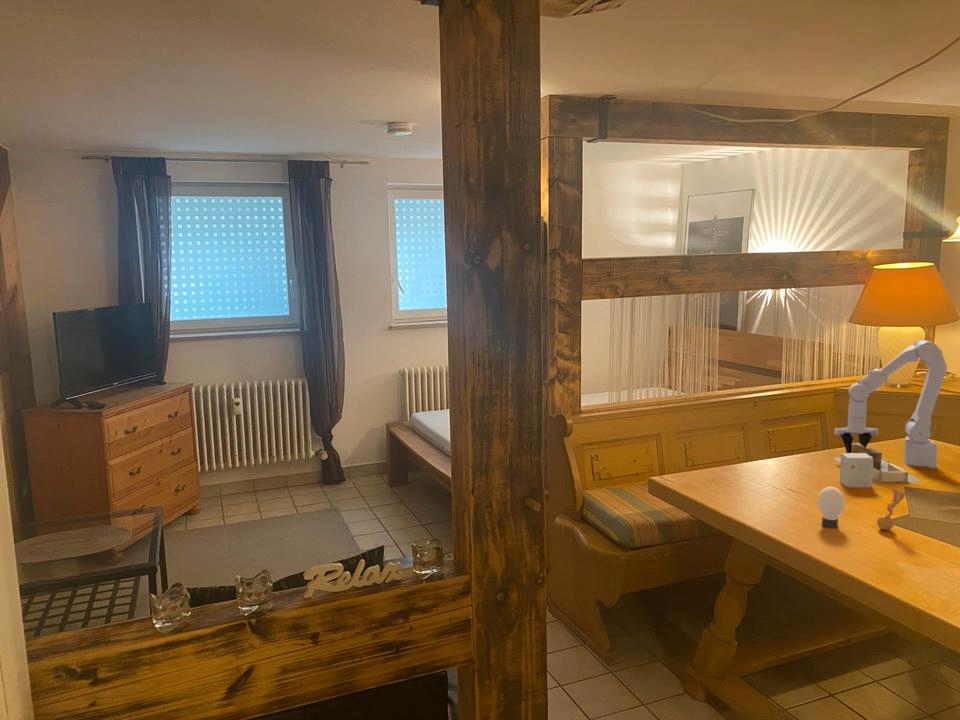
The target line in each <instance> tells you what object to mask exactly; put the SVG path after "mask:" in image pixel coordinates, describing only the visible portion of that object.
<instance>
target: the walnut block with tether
mask: <svg viewBox="0 0 960 720" xmlns="http://www.w3.org/2000/svg"><path fill="white" fill-rule="evenodd" d="M864 448H865V446H864V445H862V444H860V443H859V442H852V446H851V453H866V454H868V455H869V456H871V457H873V467H874V468H875V469H877V470H881V459H882V456H883V453H882V451H879V450H878V449H876V448H875V447H874V448H865V449H864Z"/></svg>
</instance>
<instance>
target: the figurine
mask: <svg viewBox="0 0 960 720" xmlns="http://www.w3.org/2000/svg"><path fill="white" fill-rule="evenodd" d="M892 493H893V497H892V500H891V501H892V502H889V504H887V507H886V510H887V511H888V512H889V513H887V514H885V515H880V516H879V517H878V518H877V520H876V524H877V527H878V528H879V529H880V530H882V531H890V530H892V529H893V528H894V525H895V523H894V520H893V518H891V516H892V515H893V511H894V510H893V509H894V508H896V507H897V505H898V504H899V503H900V502H901V501H902V500H903V499H904V497H905V492H903V491H901V490H899V489H897V488H893V490H892Z"/></svg>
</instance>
